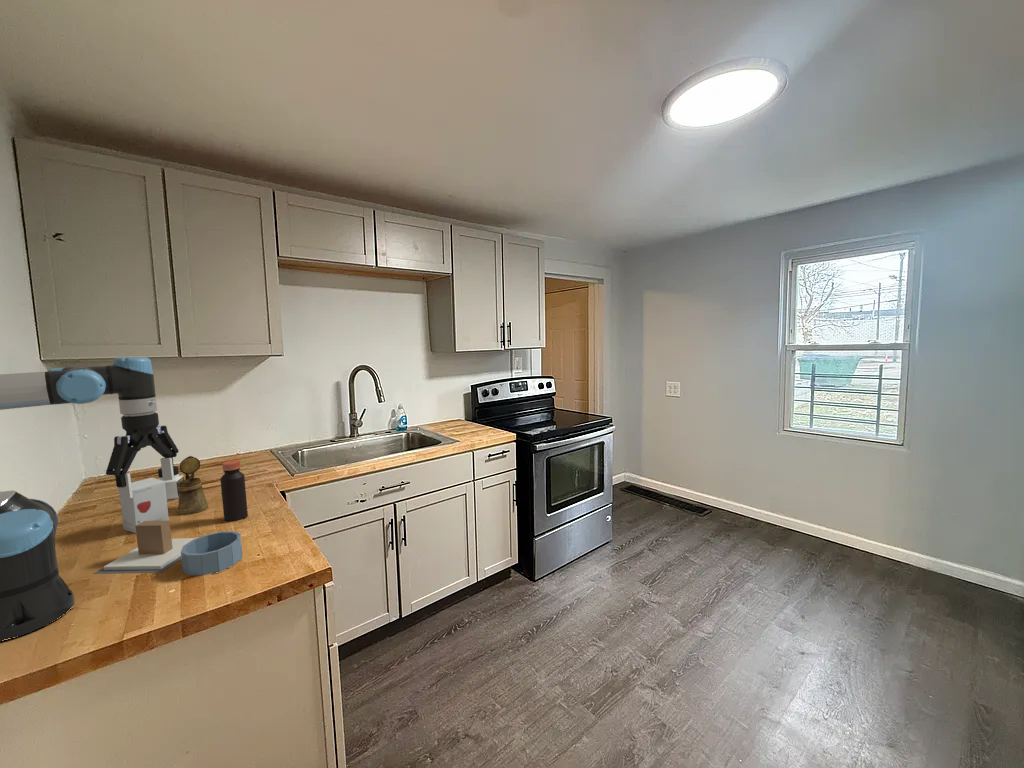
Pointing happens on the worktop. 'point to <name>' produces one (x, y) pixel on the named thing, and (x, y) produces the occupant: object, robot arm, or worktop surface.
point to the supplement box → (145, 503)
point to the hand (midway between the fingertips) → (148, 488)
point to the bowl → (211, 553)
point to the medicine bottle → (172, 483)
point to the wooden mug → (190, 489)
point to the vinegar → (233, 492)
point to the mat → (138, 570)
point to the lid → (151, 548)
